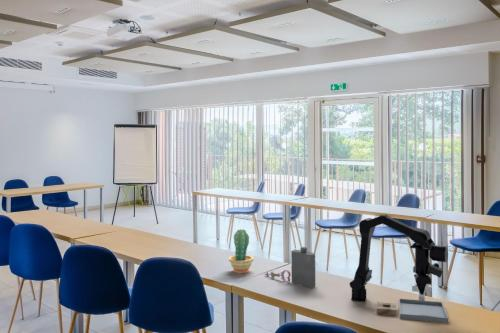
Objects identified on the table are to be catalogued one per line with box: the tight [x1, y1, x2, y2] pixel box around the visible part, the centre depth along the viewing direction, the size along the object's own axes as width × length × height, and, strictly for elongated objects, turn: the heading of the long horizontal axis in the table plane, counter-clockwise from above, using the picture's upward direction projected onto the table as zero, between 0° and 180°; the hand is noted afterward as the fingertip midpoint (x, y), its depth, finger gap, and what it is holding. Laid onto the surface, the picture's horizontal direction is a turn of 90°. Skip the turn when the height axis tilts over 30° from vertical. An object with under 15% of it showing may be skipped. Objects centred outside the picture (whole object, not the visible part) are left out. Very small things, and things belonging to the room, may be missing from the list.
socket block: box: [376, 301, 397, 316], centre depth 194 cm, size 8×8×2 cm
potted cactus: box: [228, 228, 255, 274], centre depth 259 cm, size 16×15×25 cm
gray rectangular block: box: [411, 283, 433, 302], centre depth 193 cm, size 8×2×7 cm, turn 73°
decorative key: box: [264, 269, 292, 283], centre depth 243 cm, size 7×1×20 cm
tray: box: [397, 297, 449, 324], centre depth 193 cm, size 19×19×2 cm
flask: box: [290, 246, 316, 289], centre depth 233 cm, size 15×6×20 cm, turn 44°
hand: (421, 293), depth 193 cm, fingers closed on gray rectangular block, 2 cm apart
